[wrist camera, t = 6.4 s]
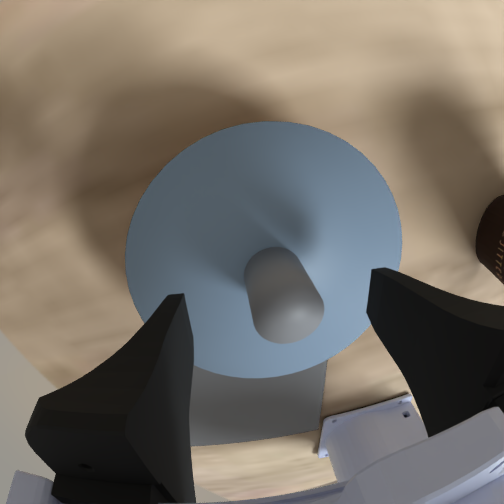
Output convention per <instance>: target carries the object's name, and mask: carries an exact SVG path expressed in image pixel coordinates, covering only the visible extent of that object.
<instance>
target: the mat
mask: <svg viewBox="0 0 504 504" xmlns="http://www.w3.org/2000/svg"><path fill="white" fill-rule="evenodd" d="M326 367H327V360H325V361H323V362H322V363H320V364H317V365H315V366H313V367H310V368H308V369H305V370H302V371H299V372H295V373H292V374H287V375H282V376H277V377H268V378H240V377H231V376H226V375H221V374H217V373H213V372H210V371H208V370H205V369H202V368H199V367H197V366H195V365H194V366H193V377H192V387H191V397H190V409H189V426H190V446H205V445H218V444H229V443H239V442H247V441H255V440H262V439H269V438H276V437H282V436H288V435H293V434H299V433H304V432H309V431H313V430H318V427H319V420H320V413H321V406H322V399H323V391H324V384H325V375H326Z"/></svg>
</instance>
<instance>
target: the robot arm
mask: <svg viewBox="0 0 504 504" xmlns="http://www.w3.org/2000/svg"><path fill="white" fill-rule="evenodd" d="M366 313H367V315H368V318H369V320H370V322H371V324H372V326H373V328H374V330H375V332H376V334H377V335H378V337H379V338H380V340H381V341H382V343H383V344H384V346H385V348H386V349H387V351H388V352H389V354H390V355H391V357H392V358H393V360H394V361H395V363H396V364H397V366H398V367H399V369H400V370H401V372H402V374H403V376H404V377H405V379H406V381H407V383H408V386H409V388H410V390H411V392H412V394H413V396H414V399H415V401H416V404H417V406H418V409H419V411H420V414H421V417H422V420H423V421H422V420H421V418H420V416H419V415H418V413H417V411H416V410H415V408H414V406H413V405H412V403H411V399H412V395H411V394H407V395H404V396H401V397H398V398H395V399H392V400H388V401H385V402H382V403H379V404H375V405H372V406H368V407H365V408H361V409H357V410H354V411H350V412H346V413H342V414H338V415H333V416H329V417H326V418H325V419H324V421H323V426H322V432H321V438H320V443H319V449H318V454H317V455H318V458H324V457H328V456H329V458H330V461H331V464H332V467H333V470H334V473H335V476H336V479H337V482H338V483H336V484H332V485H328V486H324V487H319V488H315V489H310V490H306V491H301V492H296V493H290V494H285V495H279V496H272V497H265V498H258V499H250V500H240V501H229V502H214V503H196V497H195V490H194V481H193V471H192V460H191V446H190V426H189V409H190V397H191V387H192V377H193V366H194V337H193V333H192V328H191V324H190V319H189V314H188V310H187V305H186V300H185V295H184V293H180V294H170V295H167V296H166V298H165V299H164V300H163V301H162V303H161V304H160V305H159V306H158V308H157V309H156V310H155V312H154V313H153V314H152V315H151V317H150V318H149V319H148V320H147V321H146V323H145V324H144V325H143V326H142V327H141V328H140V329H139V330H138V331H137V333H136V334H135V335H134V336H133V337H132V338H131V339H130V340H129V341H128V342H127V343H126V344H125V345H124V346H123V347H122V348H121V349H119V350H118V351H117V352H116V353H115V354H114V355H112V356H111V357H110V358H109V359H107V360H106V361H105V362H103V363H102V364H100V365H99V366H98V367H96V368H95V369H94V370H92V371H91V372H89V373H87V374H86V375H84V376H83V377H81V378H79V379H78V380H76V381H74V382H72V383H70V384H68V385H67V386H65V387H63V388H60V389H58V390H56V391H54V392H52V393H49V394H47V395H45V396H42V397H40V398H39V399H38V401H37V404H36V406H35V409H34V411H33V413H32V416H31V418H30V421H29V423H28V426H27V428H26V432H25V437H26V439H27V441H28V444H29V445H30V447H31V448H32V449H33V450H34V452H35V453H36V454H37V455H38V456H39V457H40V458H41V459H42V460H43V461H44V462H45V463H46V464H47V465H48V466H49V467H50V468H51V469H52V470H53V471H54V472H55V473H56V475H55V479H54V482H53V481H51V480H49V479H47V478H44V477H42V476H38V475H34V474H30V473H26V472H23V471H19V470H17V471H16V472H15V475H14V478H13V481H12V484H11V487H10V491H9V494H8V498H7V502H6V504H504V306H499V305H493V304H488V303H483V302H478V301H474V300H470V299H467V298H464V297H460V296H457V295H454V294H451V293H448V292H446V291H443V290H441V289H438V288H435V287H433V286H430V285H428V284H426V283H423V282H421V281H419V280H417V279H414V278H412V277H410V276H407V275H405V274H403V273H400V272H398V271H395V270H392V269H389V268H386V267H382V268H376V269H371V278H370V286H369V294H368V302H367V309H366Z"/></svg>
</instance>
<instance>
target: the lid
mask: <svg viewBox="0 0 504 504" xmlns="http://www.w3.org/2000/svg"><path fill="white" fill-rule="evenodd" d="M401 250H402V232H401V223H400V218H399V213H398V209H397V206H396V203H395V200H394V197H393V195H392V193H391V191H390V189H389V187H388V185H387V183H386V181H385V180H384V178H383V177H382V175H381V174H380V173H379V171H378V170H377V169H376V167H375V166H374V165H373V164H372V163H371V162H370V161H369V160H368V159H367V158H366V157H365V156H364V155H363V154H362V153H361V152H360V151H358V150H357V149H356V148H354V147H353V146H352V145H350V144H349V143H348V142H346V141H344V140H342V139H341V138H339V137H337V136H335V135H333V134H331V133H329V132H326V131H323V130H320V129H318V128H315V127H312V126H308V125H303V124H297V123H291V122H274V121H262V122H254V123H246V124H240V125H237V126H233V127H229V128H226V129H222V130H220V131H218V132H215V133H213V134H211V135H208V136H206V137H204V138H202V139H200V140H198V141H197V142H195V143H194V144H192V145H190V146H189V147H187V148H186V149H184V150H183V151H182V152H181V153H179V154H178V155H177V156H176V157H175V158H173V159H172V160H171V161H170V162H169V163H168V164H167V165H166V166H165V167H164V168H163V169H162V170H161V171H160V172H159V174H158V175H157V176H156V177H155V178H154V179H153V181H152V182H151V183H150V185H149V186H148V188H147V189H146V191H145V193H144V194H143V196H142V197H141V199H140V201H139V203H138V206H137V208H136V210H135V212H134V215H133V217H132V220H131V224H130V227H129V231H128V235H127V242H126V251H125V266H126V276H127V281H128V287H129V291H130V293H131V296H132V299H133V302H134V305H135V307H136V309H137V311H138V313H139V314H140V316H141V318H142V320H143V321H144V323H146V321H147V320H148V319H149V318H150V317H151V315H152V314H153V313H154V312H155V310H156V309H157V308H158V306H159V305H160V304H161V303H162V301H163V300H164V299H165V298H166V296H167V295H170V294H180V293H184V295H185V300H186V305H187V310H188V314H189V319H190V324H191V328H192V333H193V337H194V365H195V366H197V367H199V368H202V369H205V370H208V371H210V372H213V373H217V374H221V375H226V376H231V377H240V378H268V377H277V376H282V375H287V374H292V373H295V372H299V371H302V370H305V369H308V368H310V367H313V366H315V365H317V364H320V363H322V362H323V361H325V360H327V359H329V358H331V357H333V356H334V355H336V354H337V353H339V352H340V351H342V350H343V349H345V348H346V347H347V346H349V345H350V344H351V343H352V342H353V341H355V340H356V339H357V338H358V337H359V336H360V335H361V334H362V333H363V332H364V331H365V330H366V329H367V328H368V327H369V326H370V324H371V322H370V320H369V318H368V315H367V313H366V309H367V302H368V294H369V286H370V278H371V269H376V268H382V267H386V268H389V269H392V270H395V271H398V269H399V265H400V260H401Z"/></svg>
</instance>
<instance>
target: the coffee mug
mask: <svg viewBox="0 0 504 504" xmlns="http://www.w3.org/2000/svg"><path fill="white" fill-rule="evenodd" d="M476 253H477V256H478V259H479V260H480V262H481V263H482V264H483V265H484V266H485V267H486V268H487V269H488V270H490V271H491V272H492V273H493V274H494V275H495V276H496V277H497V278H498V279H499V280H500V281H501V282H502V283H503V284H504V195H502V196H499V197H497V198H496V199H495V200H493V202H492V203H491V204H490V205H489V206H488V208H487V209H486V211H485V213H484V215H483V216H482V219H481V221H480V224H479V227H478V231H477V237H476Z"/></svg>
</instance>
